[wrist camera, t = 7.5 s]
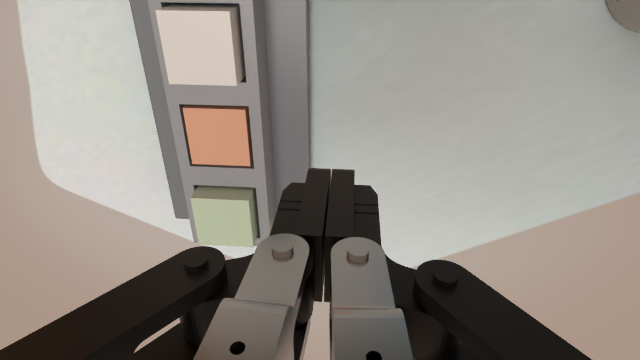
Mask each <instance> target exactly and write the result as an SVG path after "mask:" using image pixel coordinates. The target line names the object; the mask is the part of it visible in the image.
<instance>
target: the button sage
mask: <svg viewBox="0 0 640 360" xmlns="http://www.w3.org/2000/svg"><path fill="white" fill-rule="evenodd" d="M190 200H191V205H192V210H193V216H194V221H195V226H196V232H197V237H198V243H199V244H200V245H219V246H238V247H254V244H255V241H256V238H257V235H258V232H259V218H258V206H257V195H256V188H253V187H230V186H208V185H198V187H197V188H196V190H195V191H194V193H193V194H192V196H191V198H190Z"/></svg>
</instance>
